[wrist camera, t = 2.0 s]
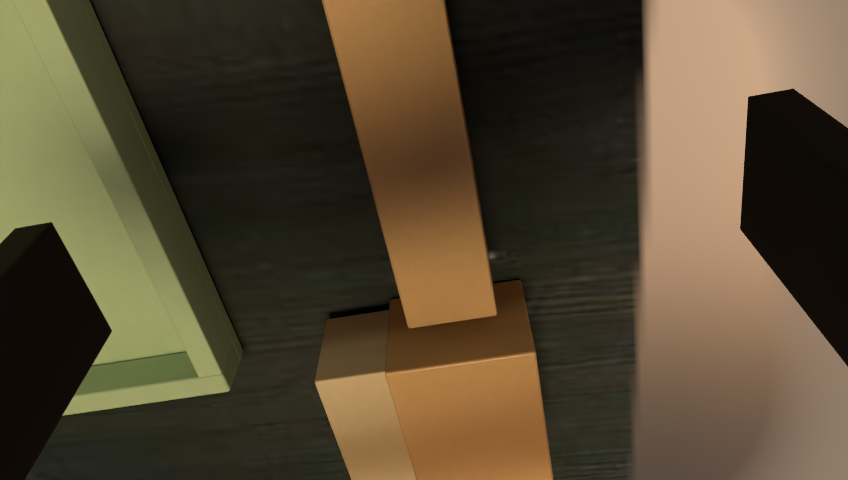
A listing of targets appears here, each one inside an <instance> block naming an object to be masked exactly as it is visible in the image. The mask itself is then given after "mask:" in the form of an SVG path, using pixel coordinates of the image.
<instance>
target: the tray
mask: <svg viewBox="0 0 848 480" xmlns="http://www.w3.org/2000/svg"><path fill="white" fill-rule="evenodd" d="M48 222H52V223H53V225H54V227H55V229H56V230H57V232H58V234H59V236H60V238H61V239H62V241H63V243H64V245H65V247H66V248H67V250H68V252H69V254H70V256H71V257H72V259H73V261H74V263H75V265H76V267H77V268H78V270H79V272H80V274H81V276H82V277H83V279H84V281H85V283H86V285H87V286H88V288H89V290H90V292H91V294H92V295H93V297H94V299H95V301H96V303H97V304H98V306H99V308H100V310H101V312H102V313H103V315H104V317H105V319H106V321H107V322H108V324H109V326H110V328H111V330H112V332H111V334H110V336H109V337H108V339H107V341H106V343H105V344H104V346H103V348H102V349H101V351H100V353H99V354H98V356H97V358H96V359H95V361H94V363H93V365H92V366H91V368H90V370H89V371H88V373H87V375H86V376H85V378H84V380H83V382H82V383H81V385H80V387H79V388H78V390H77V392H76V393H75V395H74V397H73V398H72V400H71V402H70V404H69V405H68V407H67V409H66V410H65V412H64V414H63V415H70V414H77V413H84V412H91V411H98V410H105V409H112V408H118V407H125V406H132V405H139V404H146V403H153V402H160V401H167V400H174V399H181V398H188V397H194V396H201V395H208V394H215V393H222V392H228V391H230V389H231V386H232V383H233V380H234V377H235V374H236V371H237V368H238V365H239V361H240V360H241V357H242V354H243V349H242V347H241V345H240V342H239V340H238V338H237V336H236V333H235V331H234V329H233V326H232V324H231V322H230V320H229V317H228V315H227V313H226V310H225V308H224V306H223V304H222V301H221V299H220V297H219V294H218V292H217V290H216V288H215V285H214V283H213V281H212V279H211V276H210V274H209V272H208V269H207V267H206V265H205V263H204V260H203V258H202V256H201V253H200V251H199V249H198V247H197V244H196V242H195V240H194V237H193V235H192V233H191V231H190V228H189V226H188V224H187V222H186V219H185V217H184V215H183V212H182V210H181V208H180V206H179V203H178V201H177V199H176V196H175V194H174V192H173V190H172V187H171V185H170V183H169V180H168V178H167V176H166V174H165V171H164V169H163V167H162V165H161V162H160V160H159V158H158V155H157V153H156V151H155V149H154V146H153V144H152V142H151V139H150V137H149V135H148V133H147V130H146V128H145V126H144V123H143V121H142V119H141V117H140V114H139V112H138V110H137V108H136V105H135V103H134V101H133V98H132V96H131V94H130V92H129V89H128V87H127V85H126V82H125V80H124V78H123V76H122V73H121V71H120V69H119V66H118V64H117V62H116V60H115V57H114V55H113V53H112V51H111V48H110V46H109V44H108V41H107V39H106V37H105V35H104V32H103V30H102V28H101V25H100V23H99V21H98V19H97V16H96V14H95V12H94V9H93V7H92V5H91V3H90V0H0V243H1V242H2V241H3V240H4V239H5V238H6V237H7V236H8V235H9V234H10V233H11V232H12V231H13V230H14V229H15V228H20V227H26V226H31V225H37V224H43V223H48ZM63 415H62V416H63Z"/></svg>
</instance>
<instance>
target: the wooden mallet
mask: <svg viewBox="0 0 848 480" xmlns="http://www.w3.org/2000/svg"><path fill="white" fill-rule="evenodd" d="M322 3H323V7H324V11H325V14H326V18H327V22H328V26H329V30H330V33H331V37H332V41H333V45H334V49H335V52H336V56H337V60H338V64H339V68H340V71H341V75H342V79H343V83H344V87H345V90H346V94H347V98H348V102H349V106H350V109H351V113H352V117H353V121H354V125H355V128H356V132H357V136H358V140H359V144H360V148H361V151H362V155H363V159H364V163H365V167H366V170H367V174H368V178H369V182H370V186H371V189H372V193H373V197H374V201H375V205H376V208H377V212H378V216H379V220H380V224H381V227H382V231H383V235H384V239H385V243H386V246H387V250H388V254H389V258H390V262H391V265H392V269H393V273H394V277H395V281H396V284H397V288H398V292H399V296H400V298H397V299H391V300H390V305H389V310H385V311H378V312H372V313H365V314H359V315H352V316H346V317H339V318H333V319H327V320H326V325H325V330H324V336H323V341H322V346H321V352H320V357H319V362H318V367H317V373H316V378H315V384H316V387H317V390H318V392H319V395H320V398H321V400H322V403H323V406H324V408H325V411H326V414H327V416H328V419H329V422H330V424H331V427H332V430H333V432H334V435H335V437H336V440H337V443H338V445H339V448H340V451H341V453H342V456H343V459H344V461H345V464H346V467H347V469H348V472H349V475H350V477H351V480H553V473H552V465H551V458H550V451H549V444H548V436H547V429H546V422H545V415H544V407H543V400H542V393H541V386H540V378H539V371H538V364H537V357H536V350H535V346H534V341H533V336H532V331H531V326H530V321H529V317H528V312H527V307H526V302H525V297H524V292H523V287H522V283H521V281H520V280H513V281H507V282H500V283H494V284H493V280H492V274H491V267H490V260H489V254H488V248H487V242H486V236H485V230H484V224H483V218H482V212H481V206H480V200H479V195H478V189H477V183H476V177H475V171H474V165H473V159H472V153H471V147H470V141H469V136H468V130H467V124H466V118H465V112H464V106H463V100H462V94H461V88H460V82H459V77H458V71H457V65H456V59H455V53H454V47H453V41H452V35H451V29H450V23H449V18H448V12H447V6H446V0H322Z"/></svg>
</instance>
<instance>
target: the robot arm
mask: <svg viewBox="0 0 848 480" xmlns="http://www.w3.org/2000/svg"><path fill="white" fill-rule="evenodd" d="M747 113H748V114H747V128H746V144H745V145H746V146H745V161H744V177H743V193H742V211H741V226H740V229H741V231H742V232H743V233H744V234H745V236H746V237H747V238H748V239H749V241H750V242H751V243H752V245H753V246H754V247H755V248H756V250H757V251H758V252H759V253H760V255H761V256H762V257H763V259H764V260H765V261H766V262H767V264H768V265H769V266H770V267H771V269H772V270H773V271H774V273H775V274H776V275H777V277H778V278H779V279H780V280H781V282H782V283H783V284H784V285H785V287H786V288H787V289H788V290H789V292H790V293H791V294H792V296H793V297H794V298H795V300H796V301H797V302H798V303H799V305H800V306H801V307H802V308H803V310H804V311H805V312H806V314H807V315H808V316H809V317H810V319H811V320H812V321H813V322H814V324H815V325H816V326H817V328H818V329H819V330H820V331H821V333H822V334H823V335H824V337H825V338H826V339H827V340H828V342H829V343H830V344H831V346H832V347H833V348H834V349H835V350H836V352H837V353H838V354H839V356H840V357H841V358H842V359H843V361H844V362H845V363H846V365H847V366H848V128H847V127H845V126H844V125H843V124H841V123H840V122H838V121H837V120H836V119H834V118H833V117H832V116H830V115H829V114H827V113H826V112H825V111H823V110H822V109H820V108H819V107H818V106H816V105H815V104H814V103H812V102H811V101H809V100H808V99H806V98H805V97H804V96H803V95H801V94H799V93H798V92H797V91H795V90H794V89H790V90H784V91H778V92H773V93H767V94H761V95H756V96H750V97H748V111H747ZM111 332H112V330H111V328H110V326H109V324H108V322H107V321H106V319H105V317H104V315H103V313H102V312H101V310H100V308H99V306H98V304H97V303H96V301H95V299H94V297H93V295H92V294H91V292H90V290H89V288H88V286H87V285H86V283H85V281H84V279H83V277H82V276H81V274H80V272H79V270H78V268H77V267H76V265H75V263H74V261H73V259H72V257H71V256H70V254H69V252H68V250H67V248H66V247H65V245H64V243H63V241H62V239H61V238H60V236H59V234H58V232H57V230H56V229H55V227H54V225H53V223H52V222H48V223H43V224H37V225H31V226H26V227H20V228H15V229H14V230H13V231H12V232H11V233H10V234H9V235H8V236H7V237H6V238H5V239H4V240H3V241H2V242H1V243H0V480H25V478H26V476H27V475H28V473H29V471H30V470H31V468H32V466H33V465H34V463H35V461H36V459H37V458H38V456H39V454H40V453H41V451H42V449H43V448H44V446H45V444H46V442H47V441H48V439H49V437H50V436H51V434H52V432H53V431H54V429H55V427H56V426H57V424H58V422H59V420H60V419H61V417H62V415H63V414H64V412H65V410H66V409H67V407H68V405H69V404H70V402H71V400H72V398H73V397H74V395H75V393H76V392H77V390H78V388H79V387H80V385H81V383H82V382H83V380H84V378H85V376H86V375H87V373H88V371H89V370H90V368H91V366H92V365H93V363H94V361H95V359H96V358H97V356H98V354H99V353H100V351H101V349H102V348H103V346H104V344H105V343H106V341H107V339H108V337H109V336H110V334H111Z"/></svg>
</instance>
